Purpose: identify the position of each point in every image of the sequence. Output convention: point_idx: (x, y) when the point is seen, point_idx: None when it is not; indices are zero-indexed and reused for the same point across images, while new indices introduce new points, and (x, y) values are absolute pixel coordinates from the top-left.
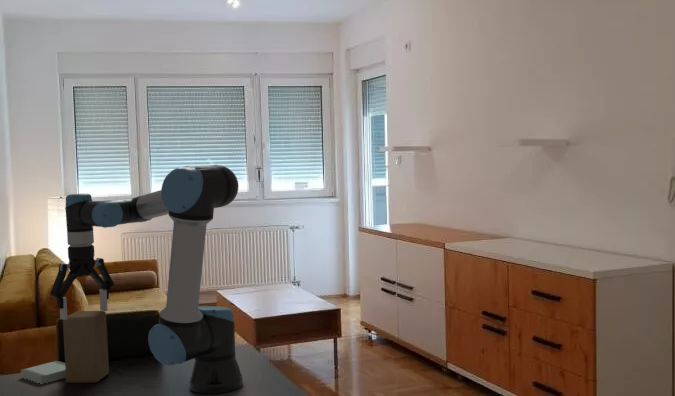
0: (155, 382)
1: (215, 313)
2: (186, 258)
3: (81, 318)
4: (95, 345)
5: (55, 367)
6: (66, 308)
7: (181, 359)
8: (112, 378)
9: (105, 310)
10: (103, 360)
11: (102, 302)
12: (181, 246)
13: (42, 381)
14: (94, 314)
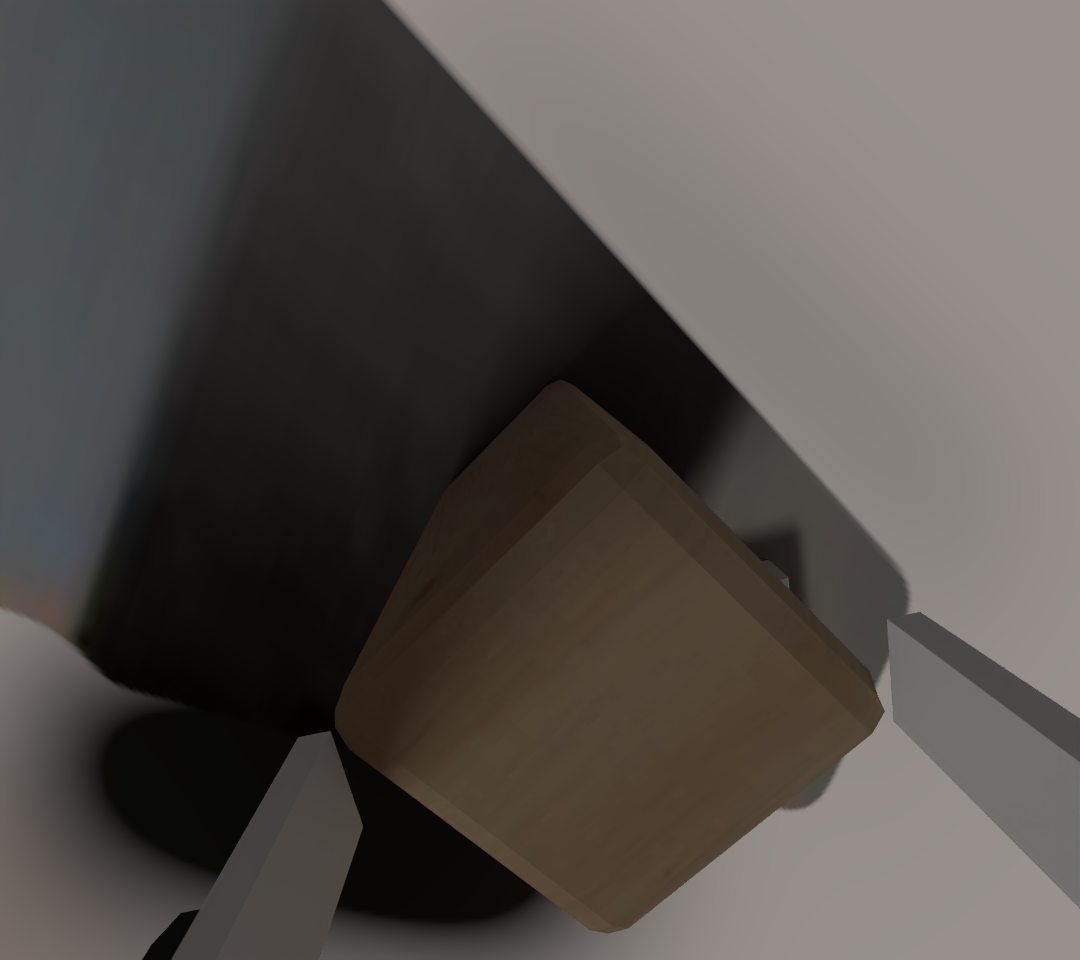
0: (290, 131)
1: None
2: None
3: (735, 552)
4: (571, 403)
5: None
6: (1019, 711)
7: None
8: (459, 404)
9: (325, 737)
10: (484, 461)
11: (305, 882)
12: None
13: (770, 566)
14: (538, 597)
